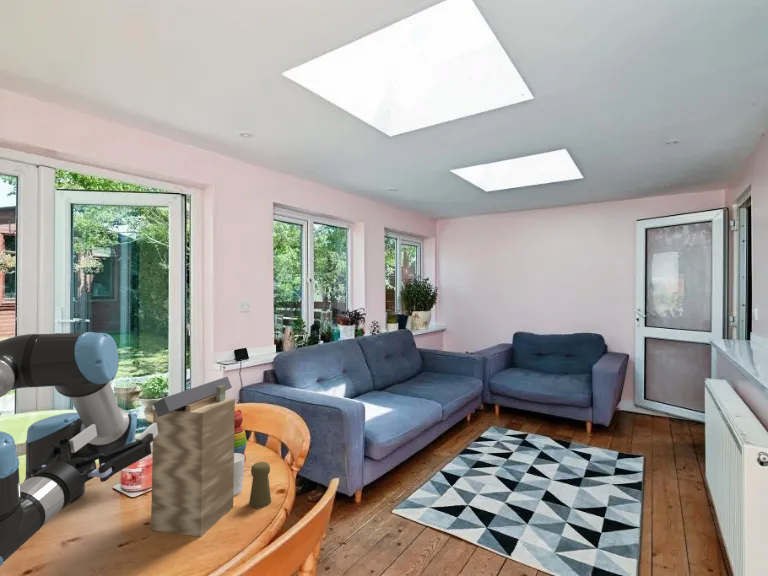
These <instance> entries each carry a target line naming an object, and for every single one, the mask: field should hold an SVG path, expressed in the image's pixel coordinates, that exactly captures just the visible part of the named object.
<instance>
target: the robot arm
mask: <svg viewBox="0 0 768 576" xmlns="http://www.w3.org/2000/svg"><path fill="white" fill-rule="evenodd" d="M118 352H119V351H118V346H117V343H116V341H115V339H114V338H113V337H112V336H111V335H110V334H108V333H106V332H93V331H87V332H65V333H64V332H62V333H61V332H60V333H59V332H58V333H28V334H19V335H16V336H13V337H12V336H11V337H8V338H5V339H3V340H0V398H2V397H4V396H5V395H6V394H8V393H9V392H10V391H13V390H17V389H25V388H28V389H29V388H43V387H44V388H45V387H54V388H55V390H56V391H57V393H59V394H60V395H61V396H64V397H66V398H69V399H70V401H71V403H72V405H73V407H74V410H75V411H76V412H67V413H60V414H56V415H52V416H47V417H44V418H43V419H42V418H41V419H40V420H38V421H35V422H34V423H32V424H31V425H29V427H28V428H27V433H26V440H25V478H24V481H23V482H21V483H20V470H19V469H20V467H19V466H20V458H19V457H18V454H17V453H18V452H17V447H16V442H15V439H14V437H13V436H12V435H11V434H10V433H7V432H5V431H0V567H2V565H3V564H4V563H5V562H6V561H7V559H9V558H10V557H11V556H12V555H13V554H14V553H15V552H16V551H18V550H19V549H20V548H21V547H22V546H23V545H24V544H25V543H26V542H27V541H28V540H30V539H31V538H32V537H33V536H34V535H35V534H36V533H37V532H39V530H40V529H42V527H43V526H44V525H45V524H47V523H48V522H49V521H50V520H51V519H53V517H55V516H56V515H57V514H58V513H59V512H60V511H61V510H63V509H64V508H66V506H67V505H70V504H72V503H74V502H75V501H77V500H79V499H80V498H81V497H83V495H85V491H86V483H87V482H88V481H91V480H92V479H94V478H99V480H100V482H107V481H108V480H109V479H111V477H113V476H114V475H115V474H117V473H118V472H121V471H123V470H124V469H127V468H128V467H129V466H131V465H134V464H135V463H138V462H139V461H140V460H143V459H144V458H146V457H148V456H150V455H151V454H152V453H153V451H152V445H151V444H152V443H153V440H154V438H155V437H156V436H157V435H158V428H157V423H153V422H152V423H151V424H150V425H149V426H148V427H147V428H146V429H145V430H143V431H142V432H141V433H140V434H139V435H138V436H136V432H137V425H138V415H137V413H131V412H130V413H129V412H127V411H126V410H124V409H123V408H122V407H119V405H118V401H117V399H116V395H115V394H114V393H115V392H114V391H113V388H112V386H111V383H110V382H112V381H113V380H114V379H115V378H116V376H117V373H118V371H119V360H120V359H119V354H118ZM134 440H135V441H134ZM96 460H98V466H99V467H97V464H96Z"/></svg>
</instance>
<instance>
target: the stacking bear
mask: <svg viewBox="0 0 768 576" xmlns="http://www.w3.org/2000/svg"><path fill="white" fill-rule="evenodd" d="M243 420H244V419H243V414H242V410H241V409H237V410H235V421H234V453H240V454H243V455H244V463H245V462H246V460H247V458H246V457H247V456H246V454H245V451H246V448H247V441H248V440H247V436H246V430H245V428H244V427H243V426H242V425H243Z"/></svg>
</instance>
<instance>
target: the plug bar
mask: <svg viewBox="0 0 768 576" xmlns="http://www.w3.org/2000/svg"><path fill="white" fill-rule="evenodd" d="M221 385H225V392H226V391H228V390H230V389H231V388H233V386H232V384H231V381H230V379H229V377H228V376H224V377H222V378H218V379H216V380H215V379H214V380H213V381H210V382H207V383H203V384H200V385H198V386H195V387H192V388H189V389H185V390H182V391H180V392H177V393H174V394H170V395H168V396H164V397H163V398H161V399H159V400H157V401H155V402H152V405H153V407H154V409H155V410H156V413H157V415H158V417H160V416H163V415H165V414H168V413H170V412H173V411H176V410H178V409H181V408H183V407H186V405H189V404H191V403H194V402H196V401H199V400H202V399H204V398H207V397H209V396H212V395H214V394H216V387H218V386H221Z"/></svg>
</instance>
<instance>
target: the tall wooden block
mask: <svg viewBox="0 0 768 576" xmlns="http://www.w3.org/2000/svg"><path fill="white" fill-rule="evenodd" d="M235 407H236V399H235V398H229V397H227V398H226V391H225V385H221V386H218V387H216V394H214V395H212V396H209V397H207V398H204V399H202V400H199V401H196V402H194V403H191V404H189V405H186V407H183V408H181V409H178V410H176V411H173V412H170V413H168V414H165V415H163V416H160V417H158V415H157V413H156V410H155V408H154V409H153V410H152V414H153V415H152V417H153V418H152V424H153V423H157V428H158V435H157V436H156V437H155V438H154V440H153V441H152V453H151V454H152V457H151V458H152V464H151V467H152V468H151V510H150V511H151V514H150V519H151V520H150V530H151V531H158V532H163V533H172V534H179V535H187V536H193V537H200V538H201V537H202V536H203V535H204V534H206V533H207V532H208V531H209V530H210V529H211V528H212V527H214V525H216V524H217V522H219V521H220V520H221V519H222V518H223V517H224V516H226V515H227V513H229V512H230V511H231V510H232V509H233V508H234V496H233V487H234V421H235V411H236V409H235ZM206 531H207V532H206Z"/></svg>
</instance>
